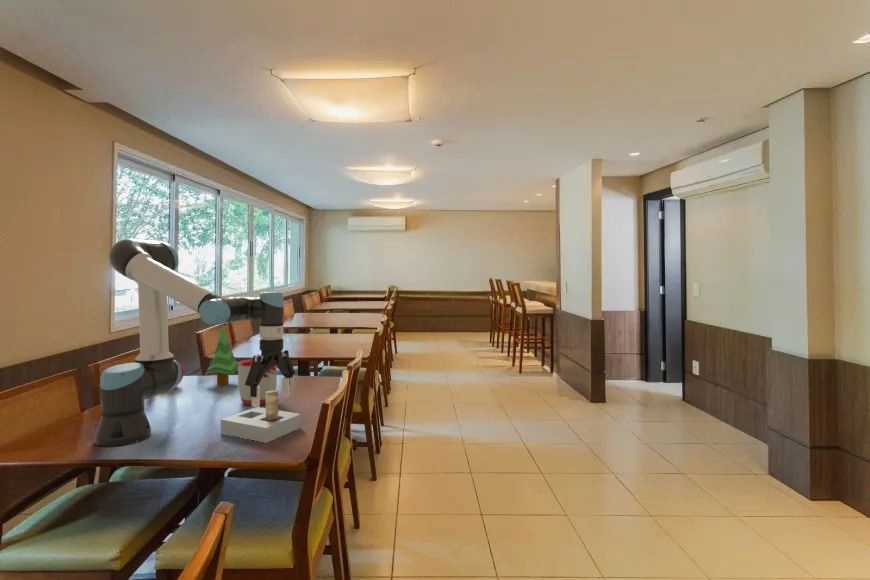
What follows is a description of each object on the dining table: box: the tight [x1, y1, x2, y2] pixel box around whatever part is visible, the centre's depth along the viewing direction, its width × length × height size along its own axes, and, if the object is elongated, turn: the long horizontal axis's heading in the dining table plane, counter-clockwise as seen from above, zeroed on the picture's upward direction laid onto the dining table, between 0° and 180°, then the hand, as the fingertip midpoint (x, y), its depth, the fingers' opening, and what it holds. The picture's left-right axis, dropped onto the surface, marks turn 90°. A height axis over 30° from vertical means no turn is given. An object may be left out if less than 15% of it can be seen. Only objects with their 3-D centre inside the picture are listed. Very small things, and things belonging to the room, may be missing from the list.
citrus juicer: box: [237, 354, 278, 406], centre depth 191 cm, size 16×17×20 cm
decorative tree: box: [204, 323, 239, 387], centre depth 220 cm, size 14×16×30 cm
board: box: [220, 407, 302, 444], centre depth 157 cm, size 16×20×5 cm
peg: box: [265, 390, 279, 422], centre depth 154 cm, size 4×4×14 cm
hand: (271, 401), depth 154 cm, fingers open, 13 cm apart
